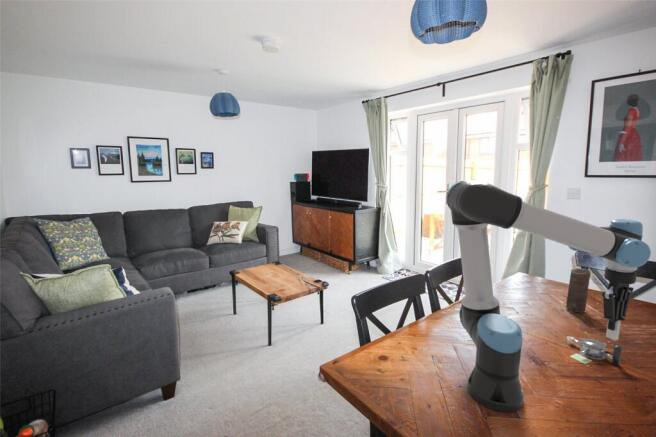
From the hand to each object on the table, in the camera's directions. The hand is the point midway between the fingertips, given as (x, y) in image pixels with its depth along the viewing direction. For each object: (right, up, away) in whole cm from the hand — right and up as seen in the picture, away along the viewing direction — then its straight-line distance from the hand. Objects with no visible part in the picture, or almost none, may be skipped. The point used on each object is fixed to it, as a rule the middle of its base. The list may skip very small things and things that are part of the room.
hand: (612, 338), depth 108 cm
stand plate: (+4, -11, +11) cm, 16 cm away
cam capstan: (+2, -10, +11) cm, 15 cm away
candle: (+23, -5, +47) cm, 53 cm away
